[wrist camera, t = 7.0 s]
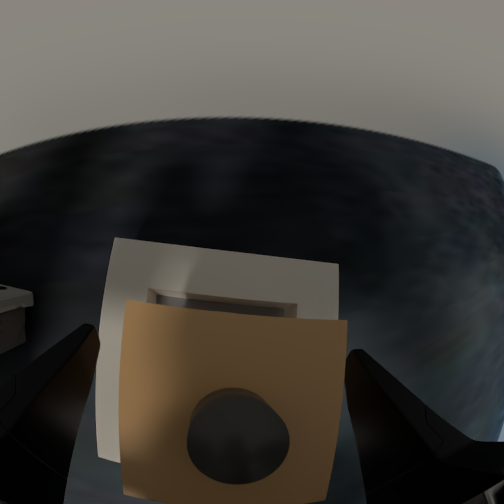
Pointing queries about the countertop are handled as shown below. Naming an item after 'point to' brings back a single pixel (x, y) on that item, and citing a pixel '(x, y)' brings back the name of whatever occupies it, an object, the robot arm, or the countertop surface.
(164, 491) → the plug
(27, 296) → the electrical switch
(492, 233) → the countertop surface
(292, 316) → the socket block
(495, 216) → the countertop surface
